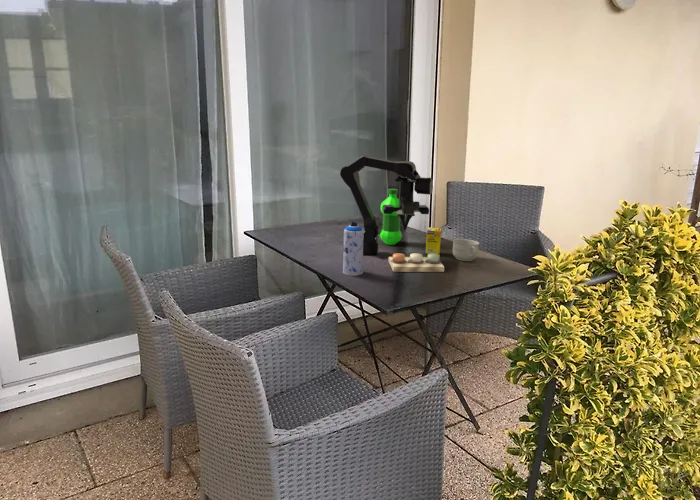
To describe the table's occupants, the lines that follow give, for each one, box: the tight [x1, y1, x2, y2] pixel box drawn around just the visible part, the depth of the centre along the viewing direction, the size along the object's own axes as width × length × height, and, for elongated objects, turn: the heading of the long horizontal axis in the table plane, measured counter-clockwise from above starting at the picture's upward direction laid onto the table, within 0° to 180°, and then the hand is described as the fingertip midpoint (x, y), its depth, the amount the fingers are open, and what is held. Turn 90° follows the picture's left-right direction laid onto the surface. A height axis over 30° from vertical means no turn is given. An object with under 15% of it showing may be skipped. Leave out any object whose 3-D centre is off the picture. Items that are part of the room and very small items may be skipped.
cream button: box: [409, 252, 423, 262], centre depth 240 cm, size 5×5×2 cm
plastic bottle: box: [379, 188, 403, 246], centre depth 272 cm, size 10×10×25 cm
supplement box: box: [425, 227, 442, 256], centre depth 259 cm, size 6×6×11 cm
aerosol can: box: [342, 220, 365, 277], centre depth 229 cm, size 8×8×20 cm
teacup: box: [452, 238, 480, 262], centre depth 251 cm, size 14×11×8 cm
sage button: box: [426, 253, 440, 262], centre depth 241 cm, size 5×5×2 cm
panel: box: [388, 256, 445, 273], centre depth 241 cm, size 20×14×2 cm
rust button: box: [392, 252, 406, 262], centre depth 240 cm, size 5×5×2 cm
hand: (404, 229), depth 250 cm, fingers closed
